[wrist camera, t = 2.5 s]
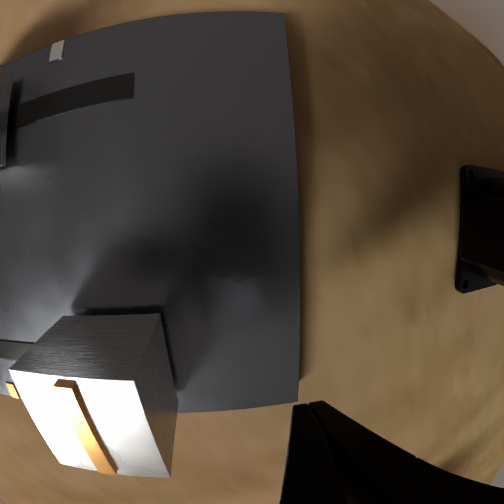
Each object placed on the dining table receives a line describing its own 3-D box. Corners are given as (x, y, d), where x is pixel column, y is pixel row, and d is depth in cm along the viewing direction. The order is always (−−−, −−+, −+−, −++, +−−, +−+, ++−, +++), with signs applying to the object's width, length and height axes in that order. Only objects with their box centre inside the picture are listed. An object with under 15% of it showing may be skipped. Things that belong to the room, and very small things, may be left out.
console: (278, 25, 9) (284, 12, 8) (292, 388, 13) (298, 402, 12) (-59, 113, 7) (-70, 111, 6) (-22, 377, 11) (-30, 385, 9)
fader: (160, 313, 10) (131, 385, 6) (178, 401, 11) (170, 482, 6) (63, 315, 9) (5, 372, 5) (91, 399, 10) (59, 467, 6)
